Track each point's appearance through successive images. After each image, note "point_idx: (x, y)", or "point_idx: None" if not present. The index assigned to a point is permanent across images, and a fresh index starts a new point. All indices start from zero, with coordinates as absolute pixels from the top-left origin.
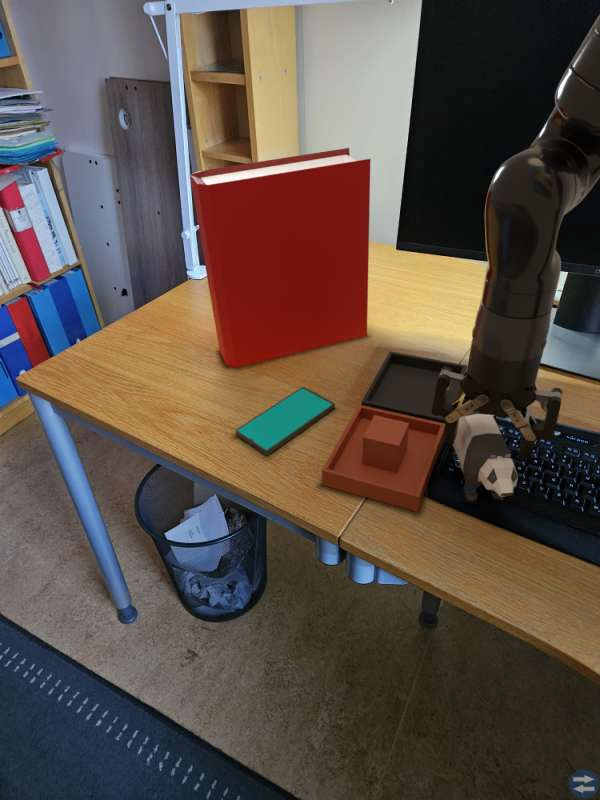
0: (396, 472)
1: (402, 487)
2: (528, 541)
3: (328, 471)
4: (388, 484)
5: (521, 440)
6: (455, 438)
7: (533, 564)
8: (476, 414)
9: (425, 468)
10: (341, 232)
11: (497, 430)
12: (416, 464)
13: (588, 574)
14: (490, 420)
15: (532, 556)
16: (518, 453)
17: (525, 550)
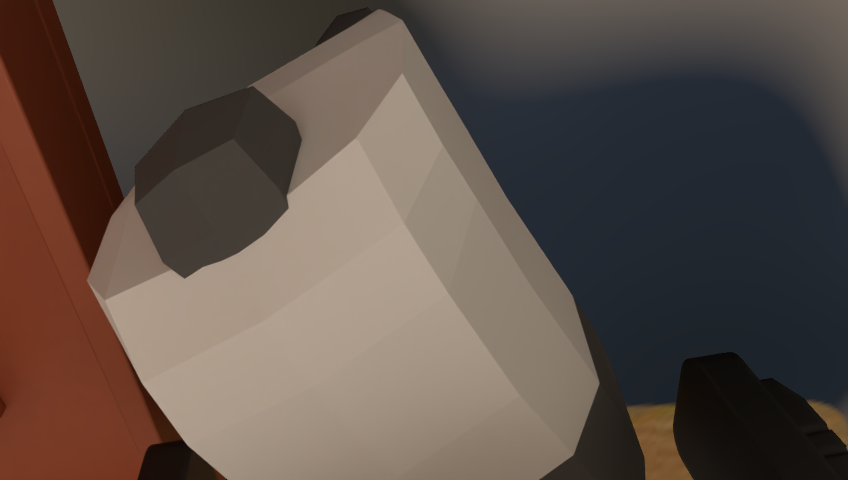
0: (2, 410)
1: (97, 464)
2: (658, 408)
3: None
4: (27, 478)
5: (751, 460)
6: (207, 466)
7: (675, 472)
8: (263, 336)
9: (136, 440)
10: None
11: (539, 450)
12: (51, 314)
13: (842, 427)
14: (446, 381)
15: (672, 450)
16: (703, 472)
17: (649, 442)
